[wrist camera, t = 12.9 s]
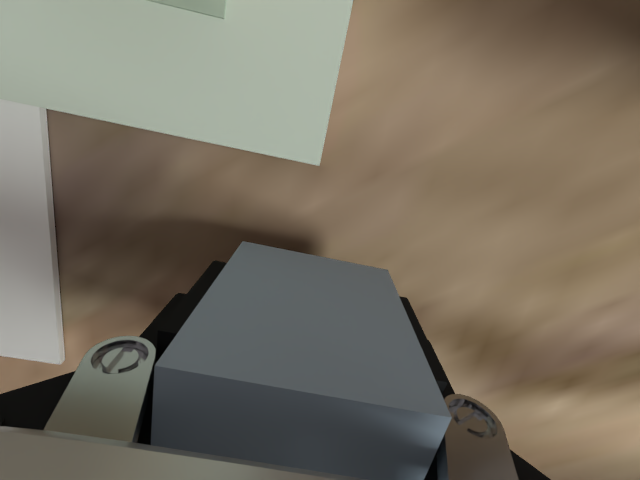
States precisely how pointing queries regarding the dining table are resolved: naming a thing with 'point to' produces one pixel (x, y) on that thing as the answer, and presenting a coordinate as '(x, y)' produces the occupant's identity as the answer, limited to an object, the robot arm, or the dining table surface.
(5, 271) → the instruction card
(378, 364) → the slate block
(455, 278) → the dining table surface
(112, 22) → the board
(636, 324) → the dining table surface
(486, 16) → the dining table surface
